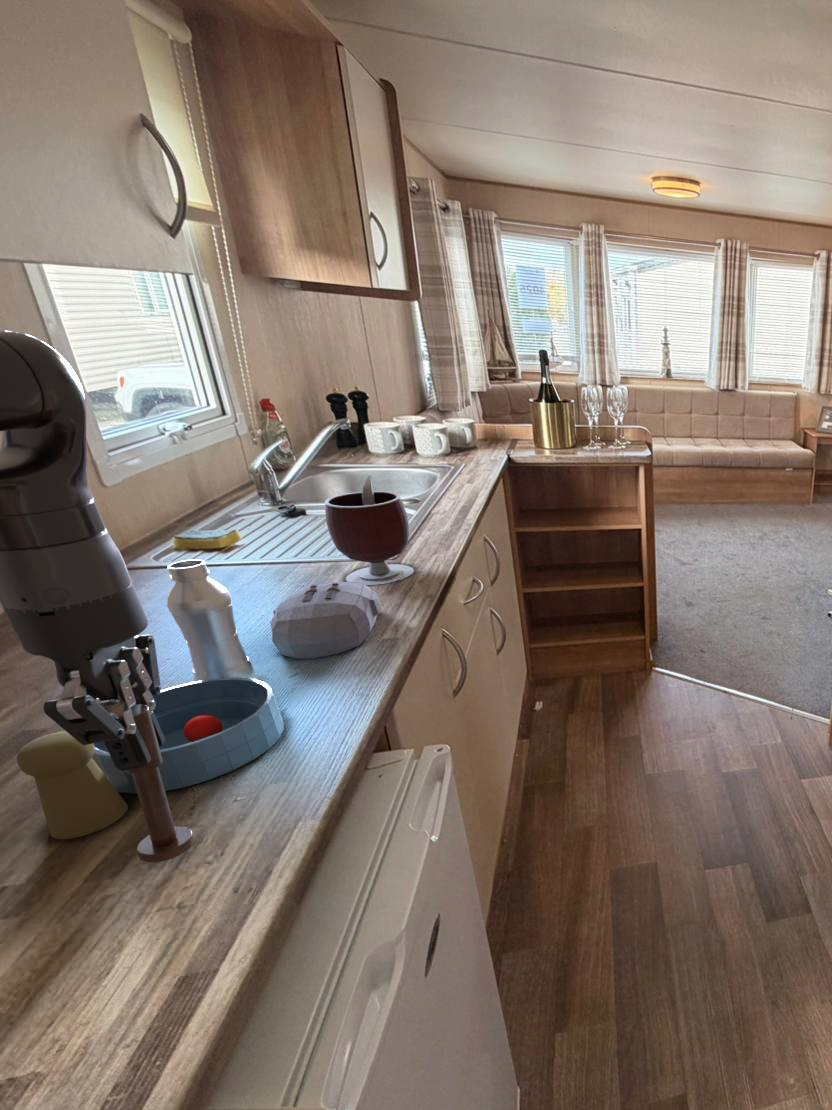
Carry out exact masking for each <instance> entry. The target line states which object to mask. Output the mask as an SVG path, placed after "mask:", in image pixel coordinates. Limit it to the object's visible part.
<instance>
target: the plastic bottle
mask: <svg viewBox="0 0 832 1110" xmlns="http://www.w3.org/2000/svg"><path fill="white" fill-rule="evenodd" d="M167 569H168V572H169V574H170V575H169V577H170V579H171V581H172V582H175V583H174V585H173V587H172V588H171V590H170V592H169V594H168V596H167V601H166V607H167V609H168V611H169V613H170V614H171V616H172V618H173V619H174V621H175V623H176V624H177V626H178V628H179V630H180V631H181V634H182V636H183V638H184V640H185V643H186V646H187V648H188V652H189V656H190V660H191V664H192V675H193V676H192V677H193V682H196V681H203V680H210V679H217V678H236V677H239V678H250V679H256V678H257V677H256V668H255V666H254V664H253V663H252V660H251V659H250V657H249V656H248V655H247V653H246V651H245V648H244V646H243V644H242V641H241V640H240V637H239V634H238V630H237V625H236V622H235V621H236V620H235V615H234V606H233V597H232V594H231V593H230V591H229V590H228V588H226V587H225V586H224V585H223V584H221V583H219V582H218V581H216V580H214V579H212V578H211V577H209V576H211V572H210V570H209V569H208V566H207V563H206V562H205V560H203V559H185V560H181V561H177V562H173V563H170V564H169V565H167ZM256 680H257V679H256Z"/></svg>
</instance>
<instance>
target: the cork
mask: <svg viewBox="0 0 832 1110" xmlns="http://www.w3.org/2000/svg"><path fill="white" fill-rule="evenodd" d="M94 751H95V750H94V744H88V745H82V744H81V743H79V742H78V741H77V740H76V739H75V738H74V737H72V736H71V735H70V734H69V733H68V732H66V731H65V730H63V731H57V732H52V733H48V734H46V735H45V734H44V735H41V736H40V737H37V738H35V739H33V740H31V741H30V742H28V743H26V744H25V745H24V746H22V747H21V748H20V750H19V751H18V754H17V756H16V763H17V765H18V767H19V769H20V770H21V771H22V772H23V774H25V775H27V776H30V777H33V778H34V781H35V784H36V788H37V793H38V796H39V800H40V803H41V806H42V810H43V813H44V817H45V822H46V825H47V829H48V832H49V835H50V836H51V837H52V838H54V839H57V840H69V839H75V838H80V837H84V836H86V835H87V836H88V835H91V834H93V833H95V832H98V831H100V830H103V829H104V828H107V827H108V826H110V825H112V824H115V822H116V821H118V820H120V819H122V817H123V816H124V815H125V814H126V813H127V811H128V808H129V805H128V803H127V802H126V801H125V799H124V798H123V797H122V796H121V794H120V792H117V790H116V789H115V788H114V786H113V785H112V784H111V782H110V781H109V780H108V778H107V777H106V776H105V775H104V773H103V772H102V771H101V769H100V768H99V767H98V765H97V764H96V763H95V761H94V760H93V759H92V756H93V754H94Z"/></svg>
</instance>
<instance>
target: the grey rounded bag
mask: <svg viewBox="0 0 832 1110" xmlns="http://www.w3.org/2000/svg"><path fill="white" fill-rule="evenodd" d="M377 593H378V592H377V591H374V590H373V589H372V588H370V587H369V585H365V584H364V583H359V582H347V581H333V582H325V583H318V584H312V585H309V586H306V587H303V588H300V589H299V590H297V591H295V592H294V593H292V594H291V595H290V596H289V597H287V598H286V599H285V600H284V601H281V602H280V603H279V604H278V605H277V606H276V608H275V609H274V610H273V611H272V612H273V616H272V618H271V620H270V622H269V623H270V626H271V633H272V635H271V636H272V640H271V642H272V643H273V645H274V646H275V647H276V649H277V650H278V651H279V653H280V654H281V656H285V657H289V658H293V659H299V660H300V659H316V658H317V659H319V658H323V657H328V656H333V655H337V654H342V653H344V652H347V651H349V650H351V649H354V648H356V647H359V646H361V644H362V643H363V642H364V640H365V639H366V637H367V636H368V635H369V634H370V633H371V631H372V629H373V627H374V625H375V623H376V621H377V616H378V615H379V614H380V611H381V602H380V599H379V597H378V594H377Z"/></svg>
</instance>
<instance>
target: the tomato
mask: <svg viewBox="0 0 832 1110" xmlns="http://www.w3.org/2000/svg"><path fill="white" fill-rule="evenodd" d="M221 731H222V723H221V721H220V720H219V719H218V718H216V717H214V716H210V715H201V716H197V717H195V718H193V719H191V720H190V721H189V722H188V723H187V724H186V725H185V727H184V735H185V737H186V738H187V739H188V740H189V741H190V742H195V741H198V740H200V739H203V738H206V737H209V736H212V735H214V734H217V733H219V732H221Z"/></svg>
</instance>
